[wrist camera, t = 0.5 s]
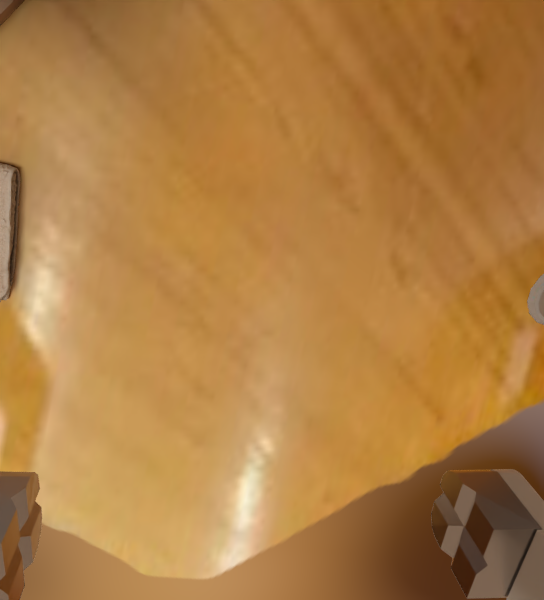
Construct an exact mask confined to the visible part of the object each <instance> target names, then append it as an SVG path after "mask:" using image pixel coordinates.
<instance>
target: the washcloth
mask: <svg viewBox="0 0 544 600" xmlns="http://www.w3.org/2000/svg"><path fill="white" fill-rule="evenodd" d="M19 191H20V173H19V170H18V169H17V168H15V167H12V166H11V165H7V164H3V163H0V302H1V300H7V299H8V298H9V294H10V290H11V289H10V287H11V286H12V283H13V282H12V279H13V275H14V271H15V259H16V242H17V225H18V205H19V203H18V202H19Z"/></svg>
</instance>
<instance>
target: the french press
mask: <svg viewBox="0 0 544 600" xmlns="http://www.w3.org/2000/svg"><path fill="white" fill-rule="evenodd" d="M527 303H528V308H529V314H530V315H531V316H532V317H533V318H534V319H535V321H536V322H538V323H540V324H543V325H544V274H543V275H542V276H540V278H539V279H538V280H537V282H536V283H535V284H534V286H533V287H532V288H531V291H530V294H529V298H528V301H527Z"/></svg>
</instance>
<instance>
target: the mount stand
mask: <svg viewBox="0 0 544 600" xmlns="http://www.w3.org/2000/svg"><path fill="white" fill-rule="evenodd" d="M23 1H24V0H0V25H1V24H2V23H3V22H4V21H5V20H6V19H7V18H8V17H9V16H10V15H11V14H12V13H13V12H14V11H15V10H16V8H17V7H18V6H19V5H20V4H21V3H22V2H23Z"/></svg>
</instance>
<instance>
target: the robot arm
mask: <svg viewBox="0 0 544 600" xmlns="http://www.w3.org/2000/svg"><path fill="white" fill-rule="evenodd" d="M440 486H441V488H442V490H443V492H444V493H443V494H442V495H441V496H440V497H439V498H437V499H436V500H435V501H434V505H433V509H432V513H431V519H432V529H433V532H434V535H435V538H436V540H437V542H438V544H439V546H440V548H441V549H442V550H443V551H444V552H446V553H447V554H448V555H450V556H451V557H452V564H451V569H452V571H453V573H454V575H455V577H456V579H457V581H458V582H459V584H460V586H461V588H462V590H463V592H464V594H465V596H466V597H467V598H507V600H544V501H543V500H542V498H541V497H540V496H539V495H538V494H537V493H536V492H535V490H534V489H533V488H532V487H531V485H530V484H529V483H528V482H527V481H526V479H525V478H524V477H523V476H522V475H521V474H520V473H519V472H517V471H516V470H514V469H497V470H496V469H494V470H448V471H447V472H446V473H445V474H444V475H443V477H442V480H441V483H440ZM39 489H40V486H39V478H38V474H36V473H35V472H0V600H20V597H21V595H22V592H23V589H24V586H25V583H24V573H23V570H25V568H27V567H28V566H29V565H30V564H31V563H32V562H33V560H34V558H35V555H36V552H37V548H38V544H39V539H40V534H41V525H42V510H41V506H39V505H38V504H37V503H36V502H35V500H36V497H37V495H38V492H39Z"/></svg>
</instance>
